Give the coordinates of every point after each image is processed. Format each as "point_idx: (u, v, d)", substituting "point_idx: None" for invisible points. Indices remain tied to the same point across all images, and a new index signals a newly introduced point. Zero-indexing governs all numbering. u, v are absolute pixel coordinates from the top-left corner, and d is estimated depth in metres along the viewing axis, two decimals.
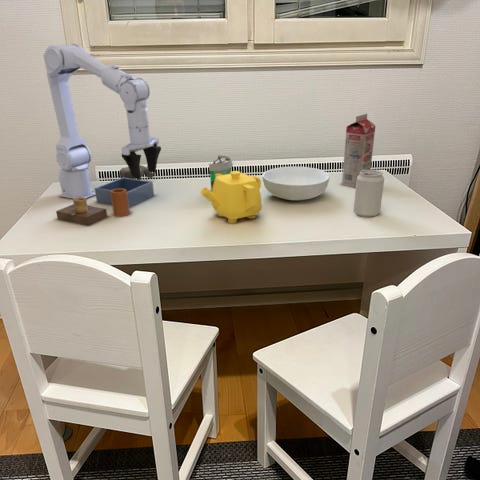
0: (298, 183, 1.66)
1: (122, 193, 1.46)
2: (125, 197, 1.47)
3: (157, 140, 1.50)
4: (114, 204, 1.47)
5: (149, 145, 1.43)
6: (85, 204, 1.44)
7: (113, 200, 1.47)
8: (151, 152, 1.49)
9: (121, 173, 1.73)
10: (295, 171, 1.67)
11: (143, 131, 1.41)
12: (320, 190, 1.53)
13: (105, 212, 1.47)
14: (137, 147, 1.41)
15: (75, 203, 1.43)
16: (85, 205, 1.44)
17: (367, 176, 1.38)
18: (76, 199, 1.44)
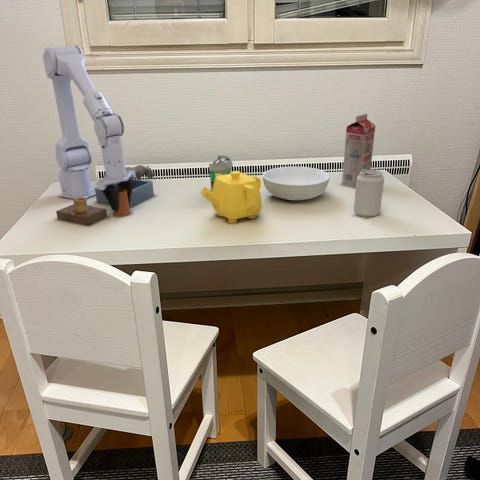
0: (298, 183, 1.66)
1: (122, 193, 1.46)
2: (125, 197, 1.47)
3: (133, 173, 1.50)
4: None
5: (124, 179, 1.43)
6: (85, 204, 1.44)
7: None
8: (125, 186, 1.48)
9: None
10: (295, 171, 1.67)
11: (118, 166, 1.41)
12: (320, 190, 1.53)
13: (105, 212, 1.47)
14: (112, 182, 1.41)
15: (75, 203, 1.43)
16: (85, 205, 1.44)
17: (367, 176, 1.38)
18: (76, 199, 1.44)
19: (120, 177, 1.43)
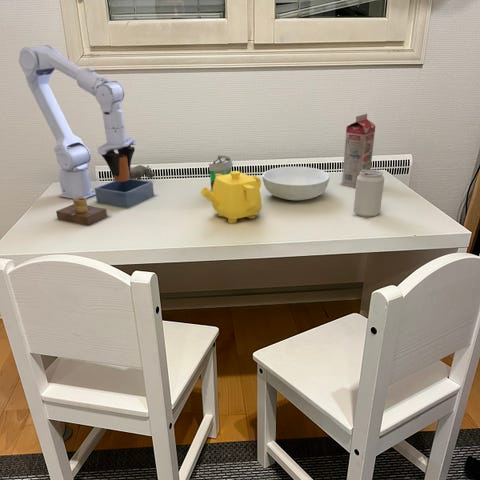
0: (298, 183, 1.66)
1: (122, 159, 1.52)
2: (125, 163, 1.53)
3: (133, 140, 1.56)
4: None
5: (124, 145, 1.49)
6: (85, 204, 1.44)
7: None
8: (125, 153, 1.55)
9: None
10: (295, 171, 1.67)
11: (118, 132, 1.47)
12: (320, 190, 1.53)
13: (105, 212, 1.47)
14: (113, 147, 1.48)
15: (75, 203, 1.43)
16: (85, 205, 1.44)
17: (367, 176, 1.38)
18: (76, 199, 1.44)
19: (120, 143, 1.49)
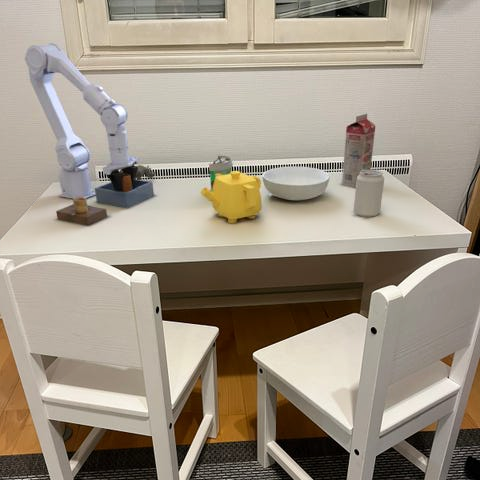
0: (298, 183, 1.66)
1: (126, 178, 1.57)
2: (129, 181, 1.59)
3: (137, 159, 1.61)
4: None
5: (128, 165, 1.54)
6: (85, 204, 1.44)
7: None
8: (129, 171, 1.60)
9: None
10: (295, 171, 1.67)
11: (122, 152, 1.53)
12: (320, 190, 1.53)
13: (105, 212, 1.47)
14: (117, 167, 1.53)
15: (75, 203, 1.43)
16: (85, 205, 1.44)
17: (367, 176, 1.38)
18: (76, 199, 1.44)
19: (124, 163, 1.54)
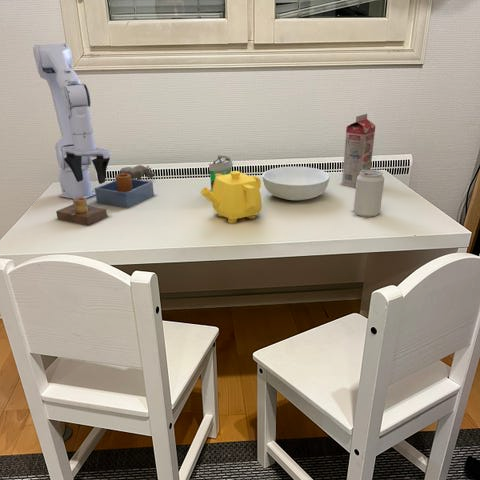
0: (298, 183, 1.66)
1: (126, 178, 1.57)
2: (129, 181, 1.59)
3: (103, 153, 1.39)
4: (119, 188, 1.59)
5: (74, 153, 1.39)
6: (85, 204, 1.44)
7: (118, 184, 1.58)
8: None
9: (121, 173, 1.73)
10: (295, 171, 1.67)
11: (73, 138, 1.38)
12: (320, 190, 1.53)
13: (105, 212, 1.47)
14: (70, 151, 1.42)
15: (75, 203, 1.43)
16: (85, 205, 1.44)
17: (367, 176, 1.38)
18: (76, 199, 1.44)
19: (75, 149, 1.40)
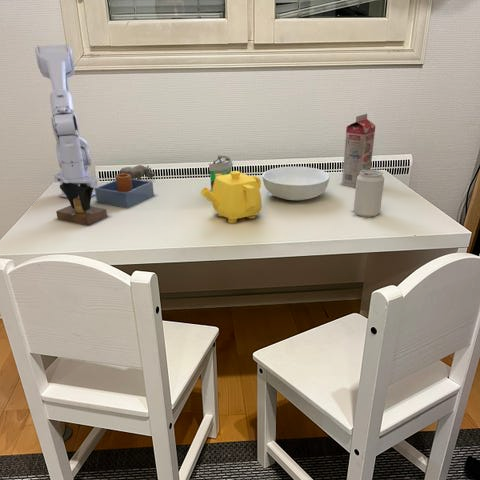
0: (298, 183, 1.66)
1: (126, 178, 1.57)
2: (129, 181, 1.59)
3: (90, 182, 1.37)
4: (119, 188, 1.59)
5: (63, 181, 1.38)
6: None
7: (118, 184, 1.58)
8: None
9: (121, 173, 1.73)
10: (295, 171, 1.67)
11: (62, 165, 1.37)
12: (320, 190, 1.53)
13: (105, 212, 1.47)
14: (60, 178, 1.41)
15: (75, 203, 1.43)
16: None
17: (367, 176, 1.38)
18: (76, 199, 1.44)
19: (64, 177, 1.39)
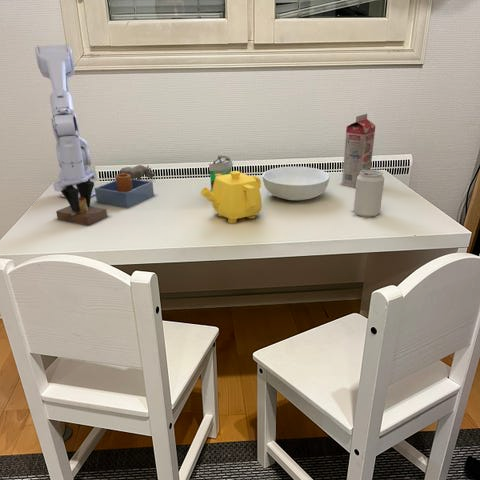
0: (298, 183, 1.66)
1: (126, 178, 1.57)
2: (129, 181, 1.59)
3: (94, 174, 1.45)
4: (119, 188, 1.59)
5: (83, 180, 1.39)
6: None
7: (118, 184, 1.58)
8: (84, 188, 1.44)
9: (121, 173, 1.73)
10: (295, 171, 1.67)
11: (76, 166, 1.37)
12: (320, 190, 1.53)
13: (105, 212, 1.47)
14: (70, 183, 1.37)
15: (84, 202, 1.44)
16: None
17: (367, 176, 1.38)
18: (79, 200, 1.43)
19: (78, 178, 1.39)
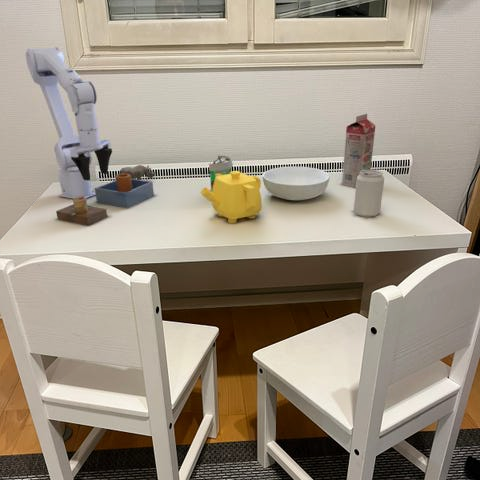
0: (298, 183, 1.66)
1: (126, 178, 1.57)
2: (129, 181, 1.59)
3: (108, 142, 1.51)
4: (119, 188, 1.59)
5: (98, 147, 1.45)
6: None
7: (118, 184, 1.58)
8: (102, 154, 1.51)
9: (121, 173, 1.73)
10: (295, 171, 1.67)
11: (91, 134, 1.43)
12: (320, 190, 1.53)
13: (105, 212, 1.47)
14: (86, 149, 1.43)
15: (84, 202, 1.44)
16: None
17: (367, 176, 1.38)
18: (79, 199, 1.43)
19: (94, 145, 1.45)
